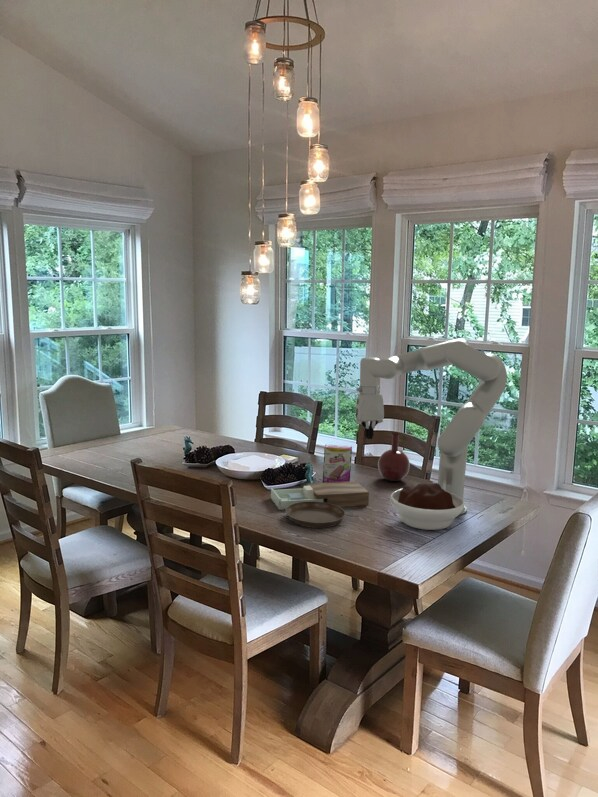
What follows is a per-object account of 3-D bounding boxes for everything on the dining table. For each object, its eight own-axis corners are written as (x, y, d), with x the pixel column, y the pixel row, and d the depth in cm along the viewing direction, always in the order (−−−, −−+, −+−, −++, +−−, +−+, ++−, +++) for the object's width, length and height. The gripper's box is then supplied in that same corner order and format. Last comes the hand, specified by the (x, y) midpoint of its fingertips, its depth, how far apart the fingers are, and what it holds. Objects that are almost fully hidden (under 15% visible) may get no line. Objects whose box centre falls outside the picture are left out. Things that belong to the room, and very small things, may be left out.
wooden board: (368, 505, 253) (368, 492, 252) (316, 508, 248) (317, 495, 247) (355, 493, 266) (355, 481, 265) (306, 496, 261) (306, 483, 260)
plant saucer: (356, 524, 233) (357, 515, 232) (305, 534, 222) (305, 525, 222) (324, 506, 250) (324, 498, 249) (274, 515, 240) (275, 506, 239)
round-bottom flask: (380, 474, 294) (383, 429, 290) (411, 478, 289) (414, 432, 286) (373, 482, 281) (376, 435, 278) (405, 486, 277) (408, 439, 274)
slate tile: (291, 497, 249) (291, 504, 249) (304, 497, 250) (304, 503, 251) (287, 493, 254) (287, 499, 254) (300, 493, 255) (300, 499, 256)
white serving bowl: (412, 507, 252) (414, 468, 249) (475, 524, 236) (478, 482, 234) (374, 524, 233) (377, 482, 230) (440, 544, 217) (444, 499, 215)
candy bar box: (322, 486, 274) (323, 447, 271) (323, 483, 279) (324, 444, 276) (350, 488, 273) (352, 448, 270) (350, 484, 278) (352, 445, 275)
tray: (323, 507, 249) (323, 496, 248) (279, 509, 244) (279, 499, 244) (312, 495, 262) (313, 485, 261) (270, 498, 257) (270, 488, 256)
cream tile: (313, 489, 251) (306, 490, 250) (313, 502, 252) (307, 503, 251) (309, 485, 256) (303, 486, 255) (310, 497, 257) (304, 498, 256)
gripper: (355, 392, 249) (354, 441, 252) (392, 391, 253) (391, 439, 256) (347, 389, 256) (346, 437, 259) (383, 388, 260) (382, 435, 263)
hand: (368, 438), depth 258 cm, fingers closed
